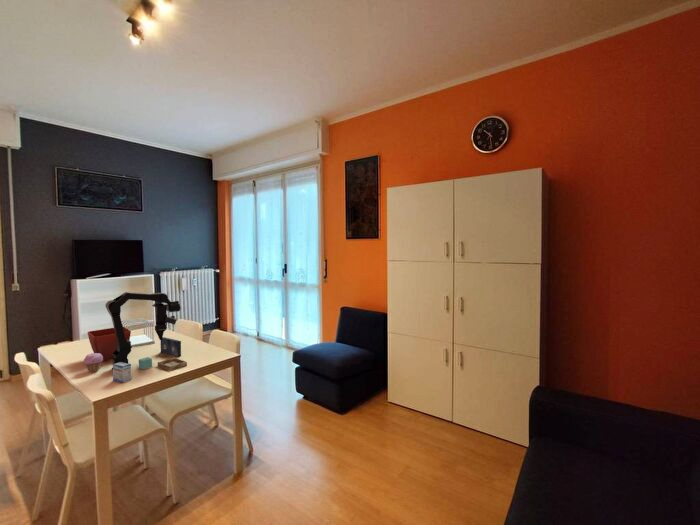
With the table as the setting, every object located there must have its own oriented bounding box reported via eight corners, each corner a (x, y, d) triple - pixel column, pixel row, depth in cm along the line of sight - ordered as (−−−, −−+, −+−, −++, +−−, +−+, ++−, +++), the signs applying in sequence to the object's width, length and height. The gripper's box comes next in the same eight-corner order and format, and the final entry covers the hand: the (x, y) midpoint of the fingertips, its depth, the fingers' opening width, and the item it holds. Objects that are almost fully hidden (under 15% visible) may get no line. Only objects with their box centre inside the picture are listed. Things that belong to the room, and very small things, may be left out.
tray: (169, 370, 188) (169, 366, 188) (157, 366, 196) (157, 362, 196) (186, 365, 197) (186, 361, 197) (174, 361, 204) (174, 357, 204)
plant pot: (94, 365, 198) (93, 336, 197) (87, 357, 211) (87, 331, 210) (132, 357, 212) (131, 331, 211) (123, 351, 225) (122, 326, 224)
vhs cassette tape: (181, 356, 215) (181, 340, 214) (177, 357, 212) (176, 341, 212) (164, 351, 224) (164, 336, 224) (160, 352, 221) (160, 337, 221)
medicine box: (112, 380, 174) (112, 364, 174) (121, 377, 179) (120, 361, 178) (123, 382, 172) (122, 366, 171) (131, 379, 176) (131, 363, 175)
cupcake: (83, 370, 188) (82, 353, 188) (102, 367, 194) (101, 350, 194) (85, 375, 182) (84, 356, 182) (104, 371, 188) (104, 353, 188)
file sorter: (118, 341, 249) (118, 320, 248) (145, 336, 261) (145, 317, 261) (126, 348, 231) (126, 326, 231) (155, 343, 243) (154, 322, 243)
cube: (142, 369, 190) (142, 361, 190) (138, 368, 193) (138, 359, 193) (152, 367, 195) (152, 358, 194) (147, 365, 197) (147, 357, 197)
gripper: (176, 314, 203) (175, 340, 203) (175, 310, 219) (175, 333, 220) (154, 316, 198) (154, 342, 198) (156, 311, 214) (156, 335, 214)
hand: (161, 338), depth 208 cm, fingers open, 9 cm apart
